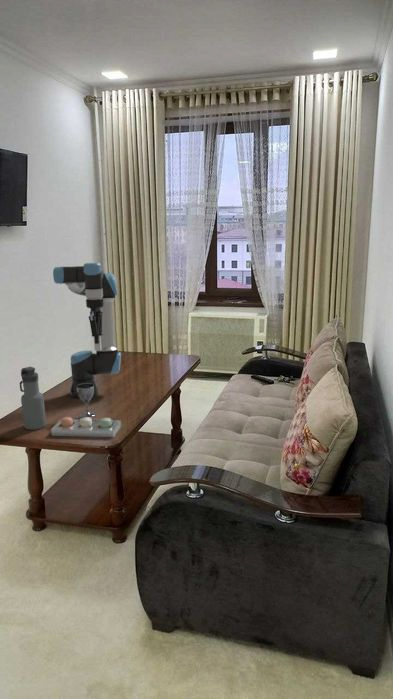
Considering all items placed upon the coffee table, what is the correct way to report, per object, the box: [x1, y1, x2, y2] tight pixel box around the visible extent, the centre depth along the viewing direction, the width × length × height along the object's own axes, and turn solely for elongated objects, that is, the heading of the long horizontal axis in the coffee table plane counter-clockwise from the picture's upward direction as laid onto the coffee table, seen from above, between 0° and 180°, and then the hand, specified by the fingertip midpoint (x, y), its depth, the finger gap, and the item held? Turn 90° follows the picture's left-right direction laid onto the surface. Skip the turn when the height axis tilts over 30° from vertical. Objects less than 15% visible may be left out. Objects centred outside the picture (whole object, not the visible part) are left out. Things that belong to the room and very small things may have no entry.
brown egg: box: [60, 416, 73, 427], centre depth 227 cm, size 5×5×5 cm
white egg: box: [80, 417, 93, 428], centre depth 226 cm, size 5×5×5 cm
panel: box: [50, 418, 122, 438], centre depth 226 cm, size 12×28×3 cm, turn 83°
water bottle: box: [19, 366, 47, 431], centre depth 230 cm, size 10×10×28 cm
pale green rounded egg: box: [99, 417, 112, 428], centre depth 225 cm, size 5×5×5 cm
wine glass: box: [77, 383, 96, 419], centre depth 244 cm, size 8×8×15 cm
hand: (98, 350), depth 230 cm, fingers closed
